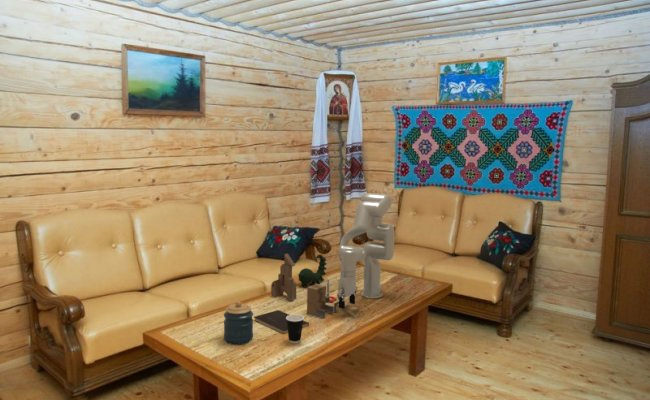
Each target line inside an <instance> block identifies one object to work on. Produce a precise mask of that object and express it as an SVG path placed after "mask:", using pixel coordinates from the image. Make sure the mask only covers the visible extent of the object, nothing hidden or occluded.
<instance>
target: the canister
mask: <svg viewBox="0 0 650 400" xmlns="http://www.w3.org/2000/svg"><path fill="white" fill-rule="evenodd" d="M223 317H224V321H223V340H224V342H225V343H227V344H230V345H234V346H236V345H238V346H239V345H246V344H248V343H251V342H252V341H253V338H254V331H253V329H254V328H253V325H254V319H253V317H254V312H253V311H252V307H251V306H249V305H248V304H246V303H242V302H241V301H240V300H238V301H236V302H235V303H231V304H229V305H228V306H227V307H226V308H225V312H224V313H223Z"/></svg>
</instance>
